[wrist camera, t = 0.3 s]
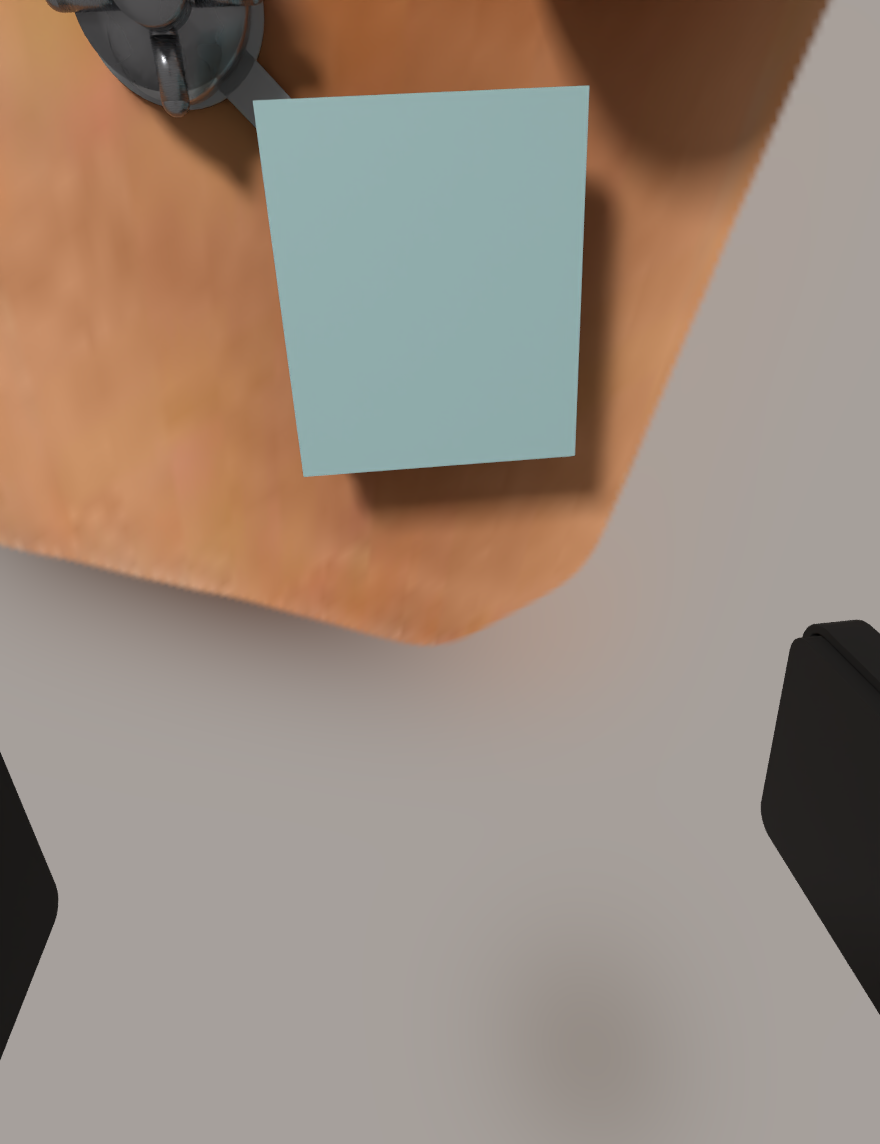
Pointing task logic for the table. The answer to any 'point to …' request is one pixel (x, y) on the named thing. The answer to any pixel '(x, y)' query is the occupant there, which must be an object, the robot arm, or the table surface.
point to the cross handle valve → (167, 43)
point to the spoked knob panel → (423, 267)
